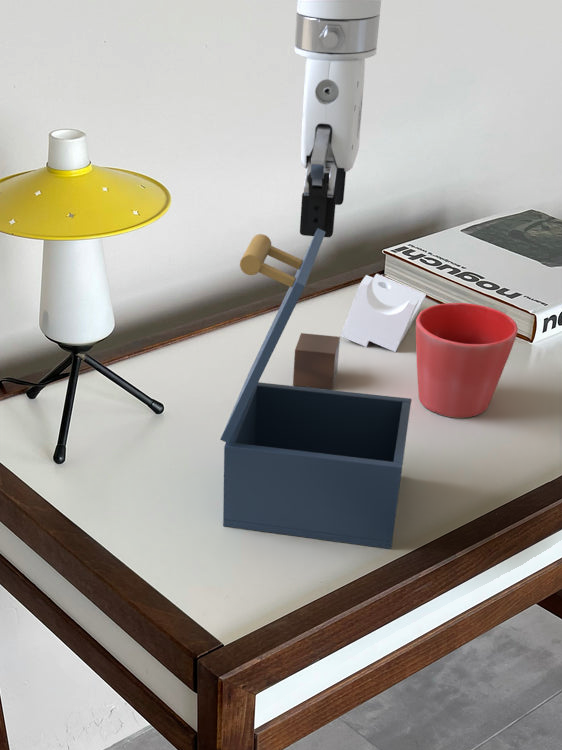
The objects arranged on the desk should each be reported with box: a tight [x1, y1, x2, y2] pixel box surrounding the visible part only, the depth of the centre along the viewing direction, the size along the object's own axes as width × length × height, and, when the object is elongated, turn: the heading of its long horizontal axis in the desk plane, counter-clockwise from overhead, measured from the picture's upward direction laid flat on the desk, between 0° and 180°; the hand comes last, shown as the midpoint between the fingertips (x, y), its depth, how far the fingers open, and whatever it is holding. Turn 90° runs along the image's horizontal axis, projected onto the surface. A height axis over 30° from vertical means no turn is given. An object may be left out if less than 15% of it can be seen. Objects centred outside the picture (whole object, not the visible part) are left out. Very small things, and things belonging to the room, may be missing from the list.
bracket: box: [339, 273, 427, 353], centre depth 128 cm, size 13×7×8 cm, turn 157°
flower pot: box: [415, 302, 519, 419], centre depth 111 cm, size 11×11×10 cm
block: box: [292, 332, 341, 390], centre depth 118 cm, size 5×5×5 cm
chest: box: [222, 381, 412, 550], centre depth 96 cm, size 16×13×9 cm
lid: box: [220, 228, 326, 444], centre depth 90 cm, size 16×13×6 cm
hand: (322, 218), depth 103 cm, fingers open, 9 cm apart
